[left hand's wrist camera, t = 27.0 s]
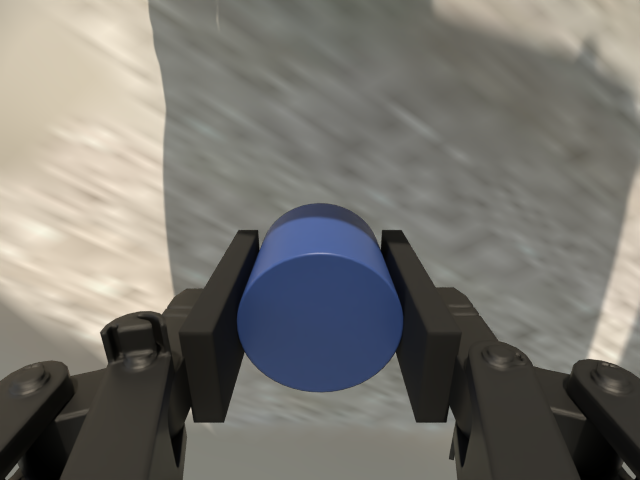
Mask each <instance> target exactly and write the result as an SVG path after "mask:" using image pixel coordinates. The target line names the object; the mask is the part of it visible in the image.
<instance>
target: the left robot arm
mask: <svg viewBox="0 0 640 480" xmlns="http://www.w3.org/2000/svg"><path fill="white" fill-rule="evenodd" d="M258 253H259V236H258V230H239V231H238V232H237V234H236V236H235V237H234V239H233V241H232V242H231V244H230V246H229V247H228V249H227V251H226V252H225V254H224V256H223V257H222V259H221V261H220V263H219V264H218V266H217V268H216V269H215V271H214V273H213V274H212V276H211V278H210V279H209V281H208V283H207V284H206V286H205V288H204V289H186V290H184V291H183V292H181V293H180V294H178V295H177V296H175V297H174V298H173V300H172V301H171V302H170V304H169V305H168V307H167V309H165V311H164V312H163V314H162V315H161V314H160V313H156V312H152V311H140V312H135V313H130V314H127V315H124V316H122V317H119V318H117V319H115V320H113V321H112V322H110V323H109V324H107V325H106V326H105V327H104V328H103V329H102V331H101V332H100V334H101V337H102V341H103V345H104V349H105V352H106V356H107V360H108V365H107V368H105V369H101V370H97V371H92V372H88V373H83V374H78V375H74V376H70V374H69V370H68V367H67V366H66V365H65V364H64V363H62V362H58V361H44V362H38V363H34V364H32V365H28V366H25V367H23V368H21V369H19V370H17V371H15V372H13V373H11V374H9V375H8V376H7V377H5V378H4V379H2V380H1V381H0V480H5V477H6V476H7V475H8V474H9V472H10V471H11V470H12V469H13V468H14V466H15V465H16V464H17V463H18V465H19V469H18V470H17V471H16V472H15V474H14V475H13V476H12V477H11V478H10V479H8V480H183V471H184V461H185V451H186V441H187V434H186V428H185V420H186V417H187V415H188V413H189V410H190V408H191V409H192V415H193V420H194V423H224V421H225V417H226V414H227V410H228V407H229V404H230V400H231V397H232V393H233V390H234V386H235V383H236V380H237V376H238V373H239V369H240V366H241V362H242V359H243V356H244V352H245V351H244V349H243V347H242V345H241V342H240V339H239V335H238V330H237V313H238V308H239V304H240V301H241V298H242V296H243V293H244V290H245V288H246V285H247V282H248V280H249V277H250V275H251V272H252V269H253V267H254V264H255V261H256V259H257V256H258ZM381 253H382V255H383V258H384V261H385V263H386V266H387V269H388V271H389V274H390V276H391V279H392V282H393V284H394V287H395V290H396V292H397V295H398V298H399V301H400V304H401V307H402V312H403V331H402V337H401V340H400V343H399V346H398V348H397V350H396V355H397V358H398V362H399V365H400V368H401V372H402V375H403V379H404V382H405V386H406V389H407V392H408V396H409V399H410V403H411V406H412V410H413V413H414V416H415V420H416V422H417V423H446V422H447V416H448V410H449V405H450V408H451V410H452V412H453V415H454V417H455V420H456V422H455V428H454V433H453V439H452V444H451V449H450V455H449V459H451V460H454V456H455V460H456V470H457V480H640V379H639V378H638V377H637V376H635V375H634V374H632V373H631V372H629V371H627V370H625V369H623V368H621V367H619V366H617V365H615V364H612V363H608V362H605V361H601V360H593V359H586V360H579V361H578V362H577V363H575V364H574V365H573V368H572V371H571V374H570V375H569V374H565V373H560V372H555V371H550V370H546V369H541V368H538V367H534V366H533V365H532V362H531V361H530V360H529V358H528V357H527V355H525V354H524V353H523V352H521V351H520V350H519V349H517V348H516V347H513V346H511V345H509V344H507V343H504V342H500V341H498V339H497V338H496V337H495V335H494V334H493V333H492V331H491V330H490V328H489V327H488V326H487V324H486V323H485V321H484V320H483V319H482V317H481V316H479V313H478V312H477V310H476V309H475V308H473V305H472V303H471V302H470V301H469V299H468V298H467V296H465V295H464V294H462V293H461V292H460V291H458V290H457V289H455V288H436V287H435V286H434V284H433V282H432V281H431V279H430V277H429V276H428V274H427V272H426V271H425V269H424V267H423V265H422V264H421V262H420V260H419V259H418V257H417V255H416V254H415V252H414V250H413V249H412V247H411V245H410V244H409V242H408V240H407V239H406V237H405V235H404V233H403V232H402V230H382V240H381ZM623 462H625V463H626V464H627V466H628V467H629V468H630V469H631V471H632V472H633V473H634V474H635V475H636V478H635V479H632V478H631V477H630V476H629V475H628V474H627V472H626V471H625V470H624V469H623V467H622V464H623Z"/></svg>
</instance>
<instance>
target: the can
mask: <svg viewBox="0 0 640 480" xmlns="http://www.w3.org/2000/svg"><path fill="white" fill-rule="evenodd" d="M237 330H238V335H239V339H240V342H241V345H242V347H243V349H244V351H245V353H246V355H247V356H248V358H249V359H250V360H251V362H252V363H253V364H254V365H255V366H256V367H257V368H258V369H259V370H260V371H261V372H262V373H264V374H265V375H266V376H268V377H269V378H271V379H272V380H274V381H276V382H278V383H280V384H282V385H285V386H287V387H290V388H293V389H297V390H302V391H309V392H332V391H338V390H343V389H347V388H350V387H353V386H356V385H358V384H361V383H362V382H364V381H366V380H368V379H370V378H371V377H373V376H374V375H376V374H377V373H378V372H379V371H380V370H381V369H383V368H384V367H385V365H386V364H387V363H388V362H389V361H390V360H391V358H392V357H393V355H394V354H395V352H396V350H397V348H398V346H399V343H400V340H401V337H402V331H403V312H402V307H401V304H400V301H399V298H398V295H397V292H396V290H395V287H394V284H393V282H392V279H391V276H390V274H389V271H388V269H387V266H386V263H385V261H384V258H383V255H382V253H381V250H380V247H379V245H378V242H377V240H376V237H375V235H374V233H373V231H372V230H371V229H370V227H369V226H368V225H367V223H366V222H365V221H364V220H363V219H361V218H360V217H359V216H358V215H356V214H355V213H353V212H352V211H350V210H348V209H345V208H343V207H340V206H337V205H332V204H323V203H316V204H308V205H304V206H300V207H297V208H295V209H293V210H291V211H289V212H287V213H285V214H284V215H283V216H281V217H280V218H279V219H278V220H277V221H276V222H275V223H274V224H273V225H272V226H271V227H270V229H269V230H268V232H267V234H266V236H265V238H264V240H263V243H262V246H261V248H260V251H259V253H258V256H257V259H256V261H255V264H254V267H253V269H252V272H251V275H250V277H249V280H248V282H247V285H246V288H245V290H244V293H243V296H242V298H241V301H240V304H239V308H238V313H237Z"/></svg>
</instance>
